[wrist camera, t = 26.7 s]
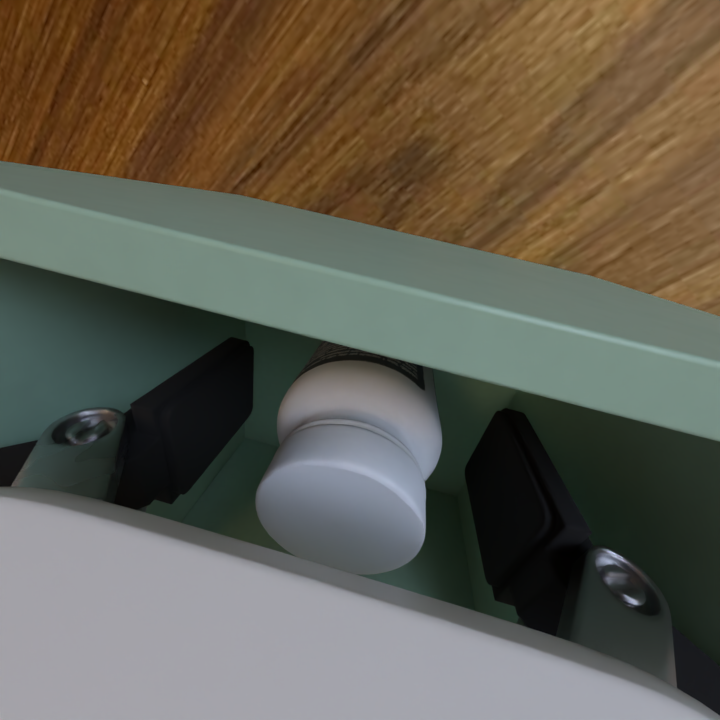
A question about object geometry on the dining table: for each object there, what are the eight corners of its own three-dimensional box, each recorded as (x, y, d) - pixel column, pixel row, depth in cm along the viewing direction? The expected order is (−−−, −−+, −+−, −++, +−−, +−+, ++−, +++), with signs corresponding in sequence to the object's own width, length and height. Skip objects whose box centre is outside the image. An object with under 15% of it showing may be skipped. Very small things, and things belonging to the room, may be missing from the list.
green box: (239, 194, 13) (-290, 118, 3) (590, 275, 12) (1345, 513, 2) (240, 434, 19) (75, 641, 10) (462, 496, 19) (516, 787, 9)
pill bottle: (307, 330, 14) (178, 467, 6) (403, 285, 12) (390, 396, 5) (356, 411, 16) (301, 596, 8) (446, 381, 14) (489, 581, 6)
